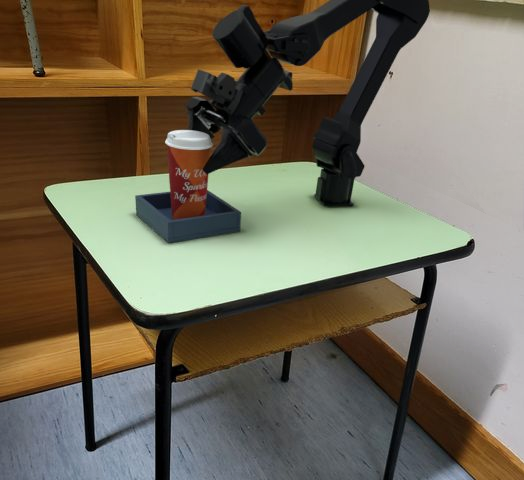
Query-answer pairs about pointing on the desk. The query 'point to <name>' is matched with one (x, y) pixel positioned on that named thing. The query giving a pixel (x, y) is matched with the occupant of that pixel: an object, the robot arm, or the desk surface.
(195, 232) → the open square box
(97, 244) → the desk surface
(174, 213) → the paper cup
